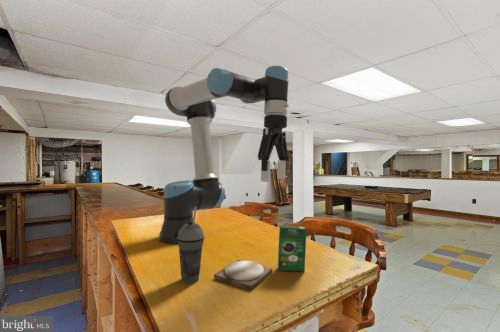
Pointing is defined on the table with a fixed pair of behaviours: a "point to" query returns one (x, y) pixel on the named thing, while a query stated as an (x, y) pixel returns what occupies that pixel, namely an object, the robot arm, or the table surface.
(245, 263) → the mount
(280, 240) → the coffee box
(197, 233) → the beverage cup
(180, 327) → the table surface
